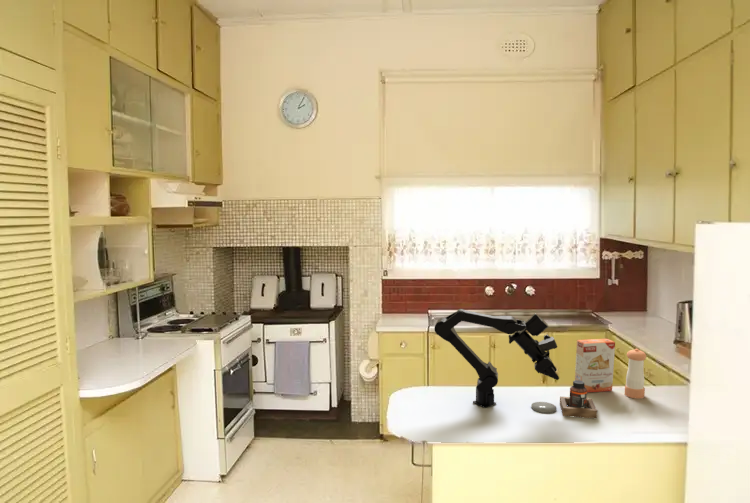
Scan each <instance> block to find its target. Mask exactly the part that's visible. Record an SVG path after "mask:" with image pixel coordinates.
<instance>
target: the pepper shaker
mask: <svg viewBox="0 0 750 503" xmlns="http://www.w3.org/2000/svg"><path fill="white" fill-rule="evenodd" d="M626 357H627V358H628V366H627V367H628V368H627V372H626V375H625V385H624V395H625V396H626V397H628V398H631V399H636V400H637V399H644V398H645V392H646V391H645V390H646V388H645V375H644V374H645V373H644V365H645V364H644V363H645V362H644V361H645V360H646V359H647V354H646V353H645V351H642V350H640V349H639V348H634V349H631V350H630V349H629V350H628V351H627V353H626Z"/></svg>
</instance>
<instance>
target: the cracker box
mask: <svg viewBox="0 0 750 503" xmlns="http://www.w3.org/2000/svg"><path fill="white" fill-rule="evenodd" d="M615 349H616V342H615V341H614V340H611V339H608V338H592V339H591V338H590V339H577V340H576V350H575V351H576V352H575V353H576V354H575V369H574V373H575V374H574V380H580V381H583V382H584V385H585V386H584V387H585V388H586V389H587V393H599V392H600V393H601V392H602V393H603V392H612V391H613V381H614V380H613V379H614V366H615V365H614V364H615V354H616V353H615V351H616V350H615Z"/></svg>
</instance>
